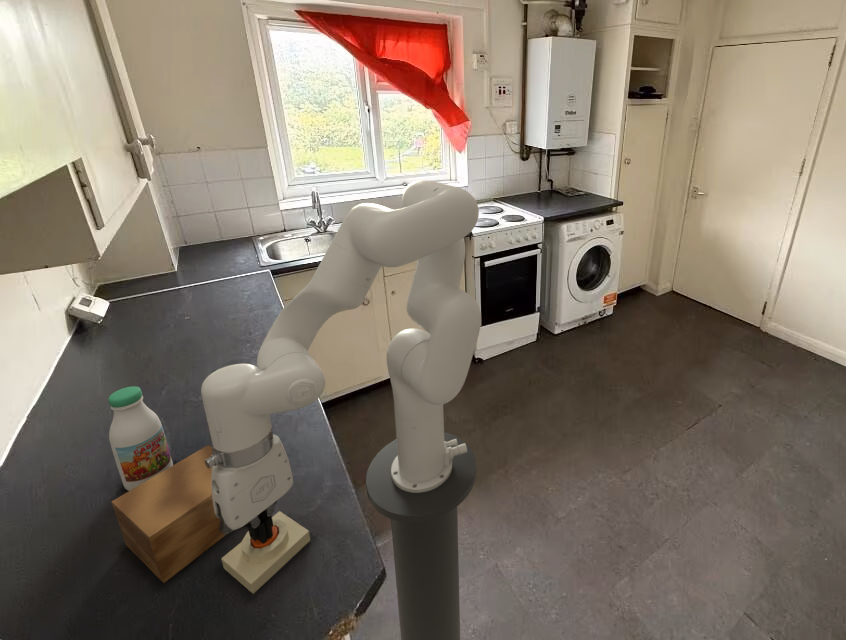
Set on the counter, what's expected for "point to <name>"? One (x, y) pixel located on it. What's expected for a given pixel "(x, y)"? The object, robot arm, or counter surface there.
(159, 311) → the counter surface
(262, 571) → the button box
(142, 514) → the cabinet
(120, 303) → the counter surface
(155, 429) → the milk bottle
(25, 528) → the counter surface
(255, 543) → the button
